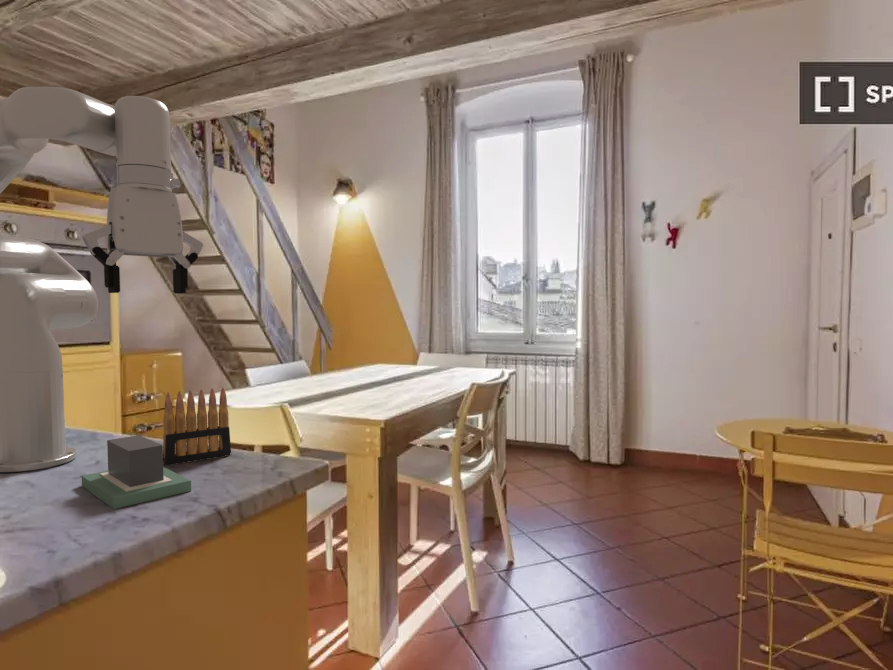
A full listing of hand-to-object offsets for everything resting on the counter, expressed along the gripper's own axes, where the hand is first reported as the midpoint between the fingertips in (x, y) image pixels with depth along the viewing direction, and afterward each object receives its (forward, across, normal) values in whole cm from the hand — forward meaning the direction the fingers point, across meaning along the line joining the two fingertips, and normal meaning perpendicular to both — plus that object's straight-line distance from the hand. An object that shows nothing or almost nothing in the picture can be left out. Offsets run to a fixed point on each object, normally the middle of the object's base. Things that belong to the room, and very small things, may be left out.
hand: (148, 293), depth 91 cm
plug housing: (+27, +5, +7) cm, 28 cm away
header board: (+28, +5, +7) cm, 30 cm away
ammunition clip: (+29, -8, -2) cm, 30 cm away
